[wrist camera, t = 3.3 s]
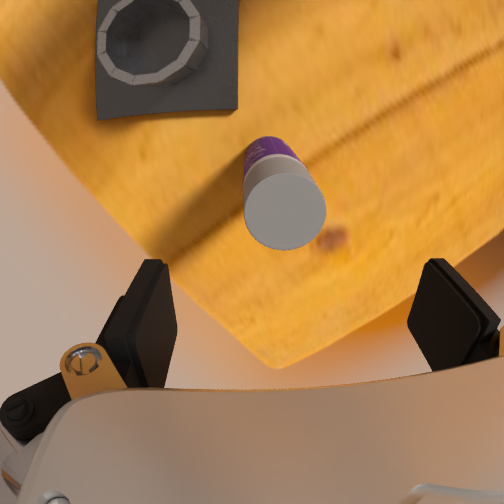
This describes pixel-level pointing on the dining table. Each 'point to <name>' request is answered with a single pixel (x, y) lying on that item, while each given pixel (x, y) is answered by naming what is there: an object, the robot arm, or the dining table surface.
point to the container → (280, 196)
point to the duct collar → (165, 56)
